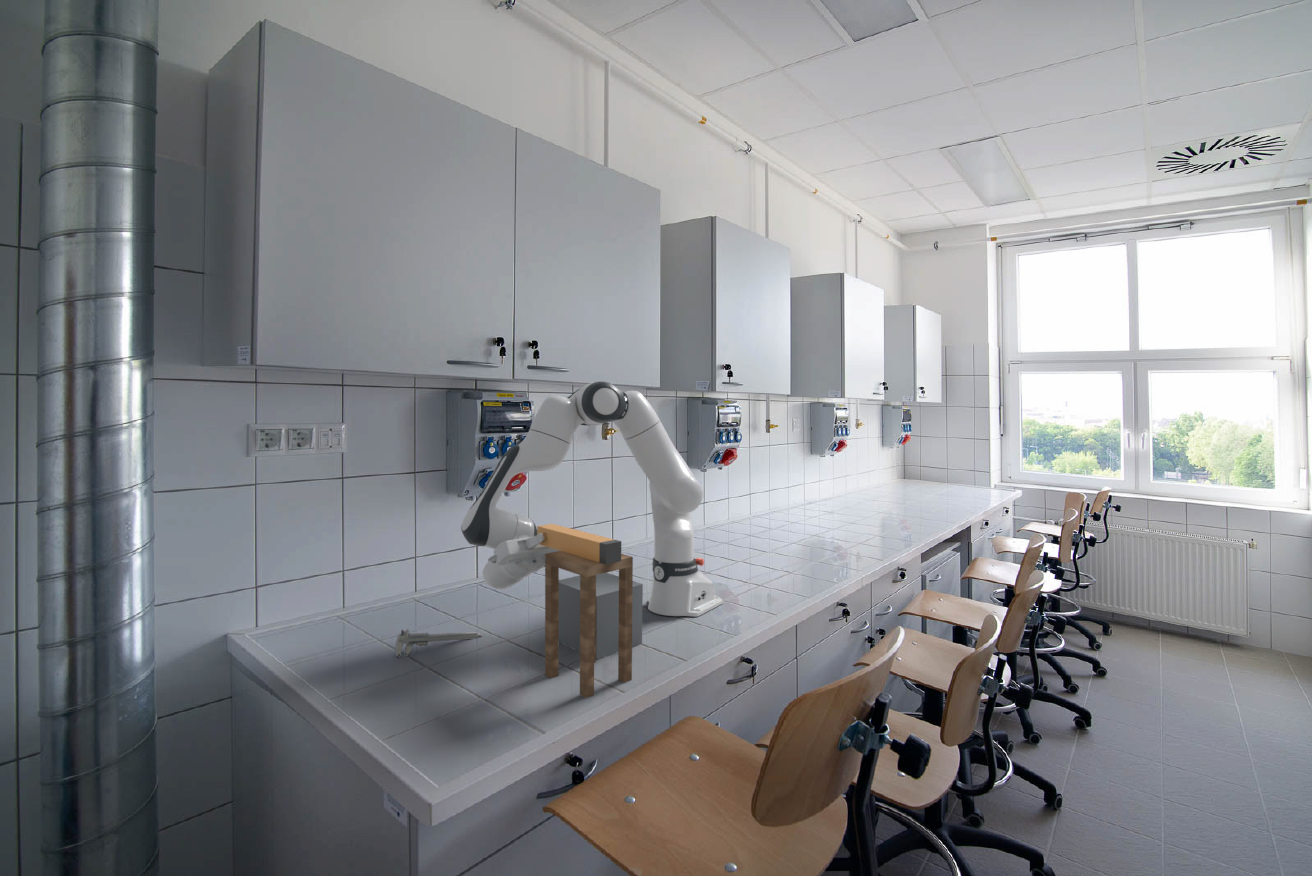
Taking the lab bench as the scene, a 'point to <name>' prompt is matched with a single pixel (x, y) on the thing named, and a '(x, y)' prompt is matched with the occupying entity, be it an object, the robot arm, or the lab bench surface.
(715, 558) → the lab bench surface
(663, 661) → the lab bench surface
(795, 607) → the lab bench surface
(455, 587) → the lab bench surface
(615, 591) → the crate
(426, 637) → the caliper
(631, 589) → the wooden bar stool
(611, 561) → the capped wooden beam
